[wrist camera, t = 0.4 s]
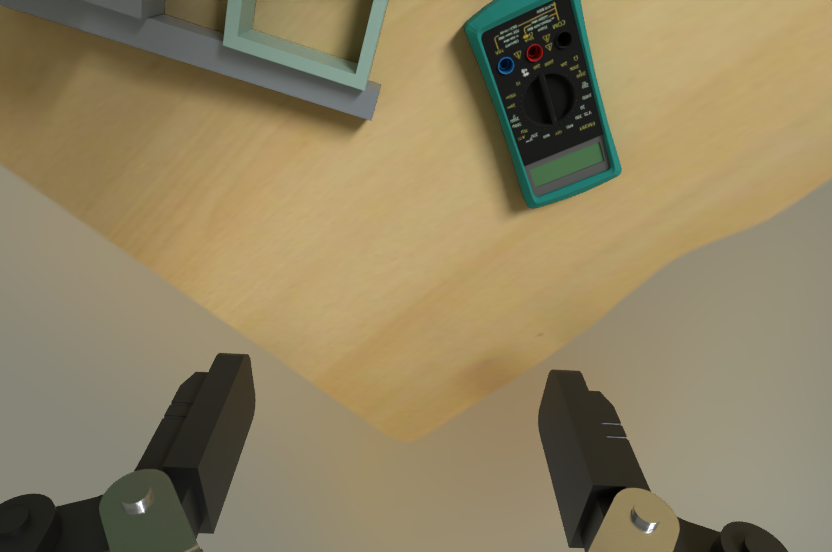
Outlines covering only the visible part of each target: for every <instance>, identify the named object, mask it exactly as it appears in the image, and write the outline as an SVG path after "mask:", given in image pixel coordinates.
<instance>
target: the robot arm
mask: <svg viewBox="0 0 832 552" xmlns="http://www.w3.org/2000/svg"><path fill="white" fill-rule="evenodd" d="M254 411H255V390H254V383H253V376H252V368H251V361H250V357H249V355H248V354H230V353H229V354H228V353H219V354H218V355H217V356H216V358H215V360H214V362H213V364H212V366H211V368H210V370H209V372H195V373H194V374H193V375H192V376H191V377H190V378H188V379H187V380H186V381H185V382H184V383H183V384H182V385H180V387H179V389H178V391H177V393H176V395H175V396H174V399H173V400H172V404H171V405H170V406H169V408H168V410H167V411H166V413H165V415H164V419H162V421H161V422H160V424H159V426H158V428H157V430H156V432H155V434H154V436H153V437H152V439H151V441H150V443H149V445H148V447H147V449H146V451H145V453H144V455H143V456H142V458H141V460H140V462H139V464H138V466H137V467H136V469H135V470H134V472H131V473H129V474H127V475H125V476H123V477H121V478H120V479H118V480H117V481H115V482H114V483H113V484H112V485H111V486H110V487H109V488H108V489H107V490H106V492H105V493H104V494H103V495H100V496H98V497H95V498H91V499H87V500H82V501H78V502H74V503H70V504H66V505H62V506H57V507H55V505H54V504H53V502H52V500H51V499H50V498H49V497H47V496H45V495H41V494H26V495H21V496H18V497H14V498H12V499H9V500H7V501H5V502H3V503H2V504H0V552H203V550H202V549H200V548H199V546H198V543H197V541H196V538H197V535H198V533H212V534H213V533H214V531H215V528H216V524H217V522H218V519H219V516H220V513H221V510H222V507H223V504H224V501H225V498H226V496H227V493H228V490H229V487H230V484H231V481H232V478H233V475H234V472H235V470H236V466H237V464H238V461H239V458H240V455H241V452H242V449H243V446H244V443H245V440H246V438H247V435H248V432H249V429H250V426H251V423H252V420H253V416H254ZM538 426H539V433H540V437H541V441H542V445H543V449H544V452H545V457H546V460H547V464H548V468H549V472H550V476H551V479H552V484H553V487H554V491H555V495H556V499H557V503H558V507H559V511H560V515H561V519H562V522H563V526H564V530H565V534H566V538H567V542H568V546H569V547H570V548H584V549H585V552H788V551H787V549H786V548H785V547H784V546H783V544H782V543H781V542H780V541H778V539H776V538H775V537H774V536H773V535H771V534H770V533H769V532H767V531H766V530H764V529H762V528H760V527H758V526H756V525H754V524H750V523H747V522H731V523H729V524H727V525H726V526H724V528H723V529H722V531H721V532H718V531H715V530H712V529H709V528H706V527H703V526H700V525H697V524H694V523H690V522H687V521H685V520H683V519H681V518H679V517H677V516H676V514H675V513H674V511H673V510H672V508H671V507H670V506H669V505H668V504H667V503H666V502H665V501H664V500H663V499H662V498H660V497H659V496H657V495H656V494H654V493H652V492H651V491H650V489H649V486H648V484H647V482H646V480H645V477H644V475H643V473H642V470H641V468H640V466H639V464H638V461H637V459H636V457H635V454H634V452H633V450H632V447H631V445H630V443H629V441H628V440H627V439H626V434H625V431H624V429H623V427H622V426H621V422H620V420H619V418H618V415H617V413H616V411H615V408H614V406H613V405H612V404H611V403H610V402H609V401H608V400H607V399H606V398H605V397H604V396H603V394H601V392H599V391H589V390H588V388H587V386H586V383H585V380H584V378H583V375H582V373H581V372H580V371H570V370H551V371H550V372H549V375H548V379H547V382H546V386H545V390H544V393H543V397H542V401H541V405H540V408H539V415H538Z"/></svg>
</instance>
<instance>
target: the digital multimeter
mask: <svg viewBox="0 0 832 552" xmlns="http://www.w3.org/2000/svg"><path fill="white" fill-rule="evenodd" d="M570 1H571V2H570ZM571 5H572V6H571ZM572 9H573V10H572ZM573 13H574V14H573ZM574 17H575V18H574ZM575 21H576V22H575ZM576 25H577V26H576ZM577 29H578V30H577ZM464 30H465V33H466V35H467V38H468V40H469V43H470V45H471V48H472V50H473V52H474V55H475V57H476V60H477V62H478V65H479V67H480V70H481V72H482V75H483V78H484V80H485V83H486V86H487V88H488V91H489V94H490V96H491V99H492V101H493V104H494V107H495V109H496V112H497V115H498V118H499V121H500V124H501V127H502V130H503V133H504V136H505V139H506V142H507V145H508V148H509V151H510V154H511V158H512V161H513V164H514V168H515V171H516V174H517V178H518V181H519V185H520V188H521V191H522V195H523V197H524V200H525V202H526V204H527V206H528V207H529V208H532V209H533V208H538V207H541V206H544V205H548V204H551V203H554V202H558V201H561V200H564V199H567V198H570V197H572V196H575V195H577V194H580V193H583V192H585V191H587V190H590V189H592V188H594V187H596V186H598V185H601V184H603V183H605V182H607V181H609V180H611V179H613V178H615V177H617V176H618V175H620V173H621V169H622V168H621V165H620V161H619V158H618V155H617V151H616V148H615V145H614V141H613V138H612V135H611V131H610V128H609V125H608V121H607V118H606V114H605V110H604V106H603V102H602V98H601V94H600V90H599V87H598V83H597V79H596V75H595V70H594V65H593V61H592V56H591V51H590V46H589V42H588V37H587V32H586V28H585V22H584V17H583V12H582V6H581V1H580V0H493V1H492V2H490V3H489V4H487V5H486V6H484V7H483V8H482V9H481V10H480V11H478V12H477V13H476V14H475V15H473V16H472V17H471V18H470V19H469V20H467V21H466V22H465V25H464ZM578 33H579V34H578ZM579 37H580V38H579ZM491 70H492V71H491ZM546 71H547V72H546ZM557 71H558V72H557ZM492 73H493V74H492ZM540 73H541V74H540ZM563 73H564V74H563ZM538 74H539V75H538ZM493 76H494V77H493ZM521 95H522V96H521ZM576 100H577V101H576ZM520 101H521V102H520ZM520 106H521V107H520ZM521 111H522V112H521ZM526 120H527V121H526ZM555 126H556V127H555ZM552 127H553V128H552ZM545 128H547V129H545Z"/></svg>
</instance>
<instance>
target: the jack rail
mask: <svg viewBox="0 0 832 552" xmlns="http://www.w3.org/2000/svg"><path fill="white" fill-rule="evenodd" d="M388 1H389V0H374V1H373V5H372V9H371V13H370V17H369V21H368V25H367V29H366V34H365V38H364V42H363V46H362V50H361V54H360V58H359V62H358V64H357V63H354V62H351V61H348V60H345V59H342V58H339V57H335V56H332V55H329V54H326V53H323V52H320V51H317V50H314V49H311V48H308V47H305V46H302V45H299V44H296V43H293V42H290V41H287V40H284V39H281V38H278V37H275V36H272V35H269V34H266V33H263V32H260V31H256V30H253V29H252V27H253V20H254V13H255V5H256V0H228V4H227V13H226V22H225V30H224V33H221V32H218V31H215V30H212V29H208V28H205V27H202V26H199V25H196V24H193V23H190V22H187V21H184V20H181V19H178V18H175V17H172V16H168V15H165V14H164V10H165V0H0V5H2V6H5V7H8V8H12V9H15V10H18V11H21V12H25V13H28V14H31V15H34V16H37V17H41V18H44V19H47V20H50V21H53V22H57V23H60V24H63V25H66V26H69V27H73V28H76V29H79V30H82V31H85V32H89V33H92V34H95V35H98V36H101V37H105V38H108V39H111V40H114V41H117V42H121V43H124V44H127V45H130V46H133V47H137V48H140V49H143V50H146V51H149V52H153V53H156V54H159V55H162V56H165V57H169V58H172V59H175V60H178V61H181V62H185V63H188V64H191V65H194V66H197V67H201V68H204V69H207V70H210V71H213V72H217V73H220V74H223V75H226V76H229V77H233V78H236V79H239V80H242V81H246V82H249V83H252V84H255V85H258V86H262V87H265V88H268V89H271V90H274V91H278V92H281V93H284V94H287V95H290V96H294V97H297V98H300V99H303V100H306V101H310V102H313V103H316V104H319V105H322V106H326V107H329V108H332V109H335V110H338V111H342V112H345V113H348V114H351V115H354V116H358V117H361V118H364V119H367V120H370V121H372V117H373V114H374V110H375V106H376V103H377V99H378V95H379V91H380V87H381V84H378V83H375V82H372V81H368V79H369V75H370V71H371V67H372V64H373V60H374V56H375V52H376V48H377V44H378V40H379V36H380V32H381V28H382V24H383V21H384V17H385V13H386V9H387V5H388Z"/></svg>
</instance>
